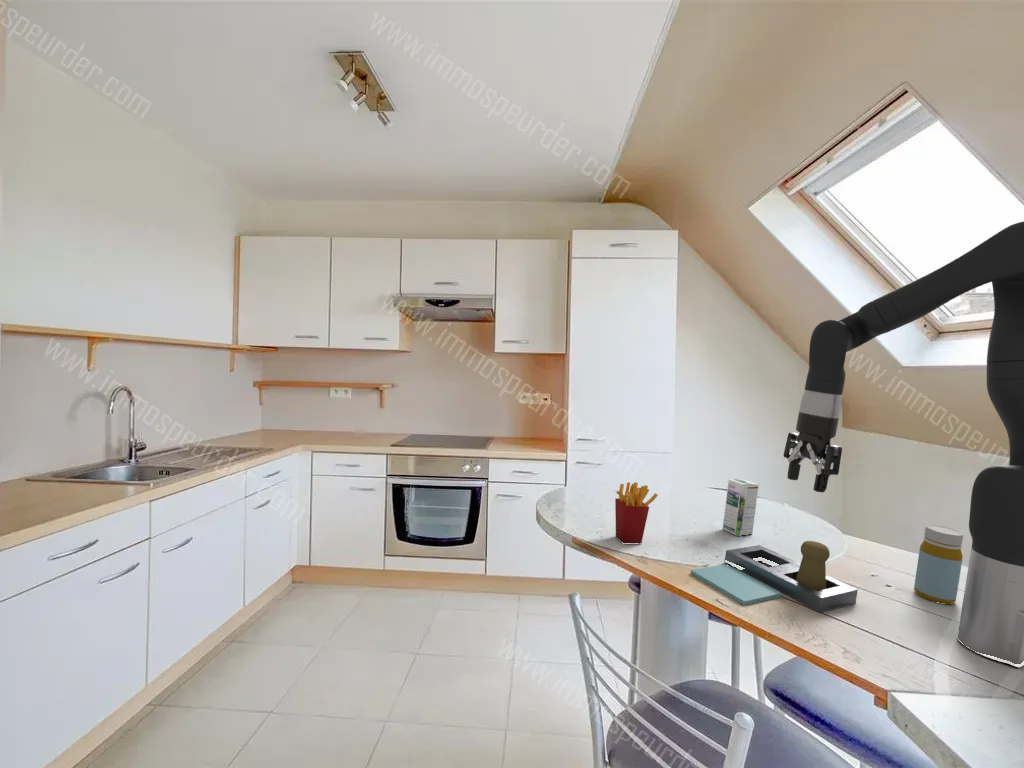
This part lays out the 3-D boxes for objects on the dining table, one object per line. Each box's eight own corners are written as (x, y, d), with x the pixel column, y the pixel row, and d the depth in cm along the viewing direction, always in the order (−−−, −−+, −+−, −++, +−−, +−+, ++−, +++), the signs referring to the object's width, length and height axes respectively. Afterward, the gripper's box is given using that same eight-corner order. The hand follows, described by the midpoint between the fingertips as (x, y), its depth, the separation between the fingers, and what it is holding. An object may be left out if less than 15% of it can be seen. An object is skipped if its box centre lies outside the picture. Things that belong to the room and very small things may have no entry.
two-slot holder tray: (855, 603, 104) (857, 589, 103) (819, 612, 99) (821, 598, 98) (758, 556, 124) (759, 545, 124) (724, 562, 119) (725, 550, 119)
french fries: (621, 545, 125) (626, 486, 123) (608, 532, 133) (613, 477, 131) (654, 545, 126) (660, 487, 125) (639, 532, 134) (645, 477, 133)
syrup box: (721, 529, 142) (727, 478, 141) (736, 527, 145) (742, 477, 143) (738, 537, 137) (744, 484, 136) (753, 535, 139) (759, 483, 138)
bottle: (939, 606, 105) (950, 536, 104) (905, 590, 112) (915, 524, 110) (963, 604, 107) (974, 535, 106) (928, 588, 114) (938, 523, 112)
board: (781, 596, 104) (781, 593, 104) (744, 605, 99) (744, 601, 99) (726, 567, 117) (726, 563, 117) (690, 573, 112) (691, 570, 112)
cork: (831, 603, 103) (838, 551, 102) (798, 598, 104) (805, 546, 103) (819, 589, 109) (826, 540, 108) (789, 584, 110) (795, 535, 109)
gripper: (860, 421, 103) (845, 497, 105) (811, 409, 117) (799, 477, 119) (827, 417, 102) (812, 494, 104) (782, 406, 116) (769, 474, 118)
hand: (805, 485), depth 111 cm, fingers open, 8 cm apart
